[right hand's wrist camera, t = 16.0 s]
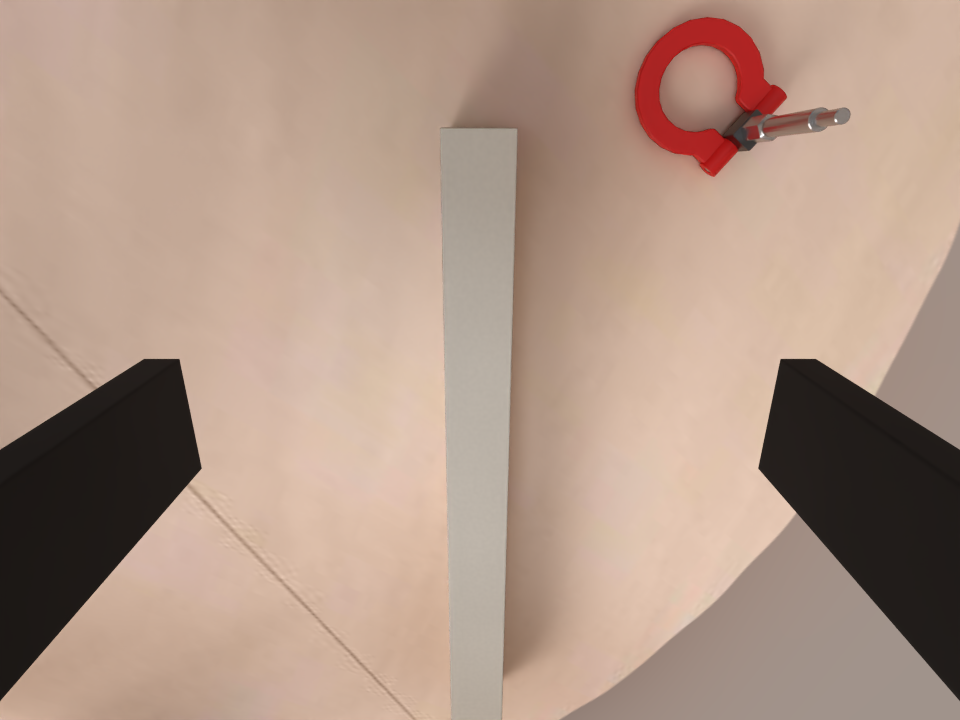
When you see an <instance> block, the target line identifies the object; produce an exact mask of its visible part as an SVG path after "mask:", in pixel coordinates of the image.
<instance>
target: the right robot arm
mask: <svg viewBox="0 0 960 720" xmlns="http://www.w3.org/2000/svg"><path fill="white" fill-rule="evenodd" d="M201 469H202V468H201V463H200V458H199V453H198V448H197V443H196V438H195V433H194V429H193V424H192V419H191V414H190V409H189V404H188V399H187V394H186V389H185V384H184V380H183V375H182V370H181V365H180V360H179V359H143V360H142V361H140V362H139V363H137V364H136V365H134V366H132V367H131V368H129V369H128V370H126V371H124V372H123V373H121V374H120V375H118V376H117V377H115V378H113V379H112V380H110V381H109V382H107V383H105V384H104V385H102V386H101V387H99V388H98V389H96V390H94V391H93V392H91V393H90V394H88V395H86V396H85V397H83V398H82V399H80V400H78V401H77V402H75V403H74V404H72V405H71V406H69V407H67V408H66V409H64V410H63V411H61V412H59V413H58V414H56V415H55V416H53V417H52V418H50V419H48V420H47V421H45V422H44V423H42V424H40V425H39V426H37V427H36V428H34V429H32V430H31V431H29V432H28V433H26V434H25V435H23V436H21V437H20V438H18V439H17V440H15V441H13V442H12V443H10V444H9V445H7V446H6V447H4V448H2V449H1V450H0V700H1V699H2V698H3V697H4V696H5V695H6V694H7V692H8V691H9V690H10V689H11V688H12V687H13V685H14V684H15V683H16V682H17V681H18V680H19V679H20V677H21V676H22V675H23V674H24V673H25V672H26V670H27V669H28V668H29V667H30V666H31V665H32V664H33V662H34V661H35V660H36V659H37V658H38V657H39V655H40V654H41V653H42V652H43V651H44V650H45V649H46V647H47V646H48V645H49V644H50V643H51V642H52V640H53V639H54V638H55V637H56V636H57V635H58V634H59V632H60V631H61V630H62V629H63V628H64V627H65V625H66V624H67V623H68V622H69V621H70V620H71V619H72V617H73V616H74V615H75V614H76V613H77V612H78V610H79V609H80V608H81V607H82V606H83V605H84V604H85V602H86V601H87V600H88V599H89V598H90V597H91V595H92V594H93V593H94V592H95V591H96V590H97V589H98V587H99V586H100V585H101V584H102V583H103V582H104V580H105V579H106V578H107V577H108V576H109V575H110V574H111V572H112V571H113V570H114V569H115V568H116V567H117V565H118V564H119V563H120V562H121V561H122V560H123V559H124V557H125V556H126V555H127V554H128V553H129V552H130V550H131V549H132V548H133V547H134V546H135V545H136V544H137V542H138V541H139V540H140V539H141V538H142V537H143V535H144V534H145V533H146V532H147V531H148V530H149V529H150V527H151V526H152V525H153V524H154V523H155V522H156V520H157V519H158V518H159V517H160V516H161V515H162V514H163V512H164V511H165V510H166V509H167V508H168V507H169V506H170V504H171V503H172V502H173V501H174V500H175V499H176V497H177V496H178V495H179V494H180V493H181V492H182V491H183V489H184V488H185V487H186V486H187V485H188V484H189V482H190V481H191V480H192V479H193V478H194V477H195V476H196V474H197V473H198V472H199V471H200V470H201ZM758 469H759V470H760V471H761V472H762V473H763V474H764V476H765V477H766V478H767V479H768V480H769V481H770V482H771V484H772V485H773V486H774V487H775V488H776V489H777V491H778V492H779V493H780V494H781V495H782V496H783V497H784V499H785V500H786V501H787V502H788V503H789V504H790V506H791V507H792V508H793V509H794V510H795V511H796V512H797V514H798V515H799V516H800V517H801V518H802V519H803V521H804V522H805V523H806V524H807V525H808V526H809V527H810V529H811V530H812V531H813V532H814V533H815V534H816V535H817V537H818V538H819V539H820V540H821V541H822V542H823V544H824V545H825V546H826V547H827V548H828V549H829V550H830V552H831V553H832V554H833V555H834V556H835V557H836V559H837V560H838V561H839V562H840V563H841V564H842V565H843V567H844V568H845V569H846V570H847V571H848V572H849V573H850V575H851V576H852V577H853V578H854V579H855V580H856V582H857V583H858V584H859V585H860V586H861V587H862V589H863V590H864V591H865V592H866V593H867V594H868V595H869V597H870V598H871V599H872V600H873V601H874V602H875V604H876V605H877V606H878V607H879V608H880V609H881V610H882V612H883V613H884V614H885V615H886V616H887V617H888V619H889V620H890V621H891V622H892V623H893V624H894V625H895V627H896V628H897V629H898V630H899V631H900V632H901V634H902V635H903V636H904V637H905V638H906V639H907V640H908V642H909V643H910V644H911V645H912V646H913V647H914V649H915V650H916V651H917V652H918V653H919V654H920V655H921V656H922V658H923V659H924V660H925V661H926V662H927V664H928V665H929V666H930V667H931V668H932V669H933V670H934V672H935V673H936V674H937V675H938V676H939V677H940V679H941V680H942V681H943V682H944V683H945V684H946V685H947V687H948V688H949V689H950V690H951V691H952V692H953V694H954V695H955V696H956V697H957V698H958V699H959V700H960V450H959V449H958V448H956V447H954V446H953V445H951V444H950V443H948V442H947V441H945V440H943V439H942V438H940V437H939V436H937V435H935V434H934V433H932V432H931V431H929V430H927V429H926V428H924V427H923V426H921V425H920V424H918V423H916V422H915V421H913V420H912V419H910V418H908V417H907V416H905V415H904V414H902V413H901V412H899V411H897V410H896V409H894V408H893V407H891V406H889V405H888V404H886V403H885V402H883V401H882V400H880V399H878V398H877V397H875V396H874V395H872V394H870V393H869V392H867V391H866V390H864V389H862V388H861V387H859V386H858V385H856V384H855V383H853V382H851V381H850V380H848V379H847V378H845V377H843V376H842V375H840V374H839V373H837V372H836V371H834V370H832V369H831V368H829V367H828V366H826V365H824V364H823V363H821V362H820V361H818V360H817V359H781V360H780V365H779V370H778V375H777V380H776V384H775V389H774V394H773V399H772V404H771V409H770V414H769V419H768V424H767V429H766V433H765V438H764V443H763V448H762V453H761V458H760V463H759V468H758Z"/></svg>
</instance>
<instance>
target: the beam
mask: <svg viewBox="0 0 960 720" xmlns="http://www.w3.org/2000/svg"><path fill="white" fill-rule="evenodd" d="M517 140H518V129H517V128H440V157H441V210H442V263H443V316H444V368H445V421H446V474H447V527H448V580H449V632H450V685H451V720H502V697H503V659H504V622H505V585H506V548H507V511H508V474H509V437H510V400H511V362H512V325H513V288H514V251H515V214H516V177H517Z"/></svg>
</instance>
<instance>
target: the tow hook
mask: <svg viewBox="0 0 960 720" xmlns="http://www.w3.org/2000/svg"><path fill="white" fill-rule="evenodd" d="M698 45H705V46H712V47H715V48H717V49H719V50H721V51H722V52H723V53H725V54H726V55H727V56H728V57H729V58H730V60H731V62H732V63H733V65H734V67H735V70H736V74H737V93H736V97H735V99H736V102H737V103H738V104H739V105H740V106H741V107H742V108H743V109H744V110H745V111H746V112H744V113H743V114H742V115H741V116H740V117H739V118H738V119H737V121H736V122H735V123H734V124H733V125H732V126H731V127H730V128H729V129H728V131H727V132H726V133H725V134H724V135H723V136H721V135H720V134H719V133H718V132H717V131H716V130H715V129H707V130H705V131H700V132H690V131H684V130H682V129H680V128H678V127H676V126H675V125H673V124H672V123H671V122H670V121H669V120H668V119H667V117H666V116H665V114H664V113H663V111H662V107H661V104H660V99H659V88H660V83H661V78H662V76H663V73H664V71H665V69H666V67H667V66H668V64H669V63H670V62H671V60H672V59H673V58H674V57H675V56H676V55H677V54H679V53H680V52H681V51H683V50H685V49H687V48H689V47H692V46H698ZM786 98H787V96H786V94H785V92H784V91H783V90H782V89H781V88H779V87H778V86H775V85H771V86H770V85H769V84H768V82H767V81H766V80H765V79H764V68H763V64H762V60H761V56H760V52H759V50H758V49H757V47H756V45H755V43H754V42H753V40H752V38H751V37H750V36H749V35H748V34H747V33H746V32H745V31H743V30H742V29H741V28H740V27H739V26H737V25H735V24H733V23H731V22H729V21H727V20H724V19H717V18H710V17H706V18H700V19H694V20H689V21H687V22H685V23H683V24H681V25H679V26H677V27H674V28H673V29H672V30H670V31H669V32H668V33H667V34H666V35H664V36H663V37H662V38H661V39H659V40H658V41H657V42H656V43H655V45H654V46H653V47H652V49H651V50H650V51H649V53H648V54H647V55H646V57H645V59H644V61H643V64H642V66H641V68H640V70H639V73H638V77H637V82H636V88H635V103H636V111H637V114H638V117H639V120H640V123H641V125H642V127H643V128H644V130H645V131H646V133H647V135H648V136H649V137H650V138H651V139H652V140H653V141H654V142H655V143H657V144H658V145H659V146H660V147H661V148H664V149H666V150H668V151H670V152H673V153H675V154H683V155H693V156H694V157H695V158H696V159H697V160H698V161H699V162H700V167H701V168H702V169H703V170H704V171H705V172H706V173H707V174H709V175H710V176H713V177H715V176H716V174H717V173H718V172H719V171H720V170H721V169H722V168H723V167H724V166H725V165H726V164H727V162H728V161H729V160H730V159H731V158H732V157H733V156H734V155H735V154H736V153H737V152H738V151H749V150H751V149H752V148H753V147H754V146H755V144H756V143H758V142H767V141H773V140H774V139H775V138H776V137H779V136H787V135H796V134H804V133H812V132H820V131H822V130H824V129H826V128H827V127H828V126H834V125H842V124H845V123H846V122H847V121H848V120H849V118H850V111H849V109H847V108H839V109H833V110H827V109H826V108H816V109H811V110H805V111H800V112H795V113H790V114H785V115H780V116H777V115H772V114H773V112H774V111H775V110H776V109H777V108H778V107H779V106H780V105H781V104H782V103H783V102H784V101H785V99H786Z"/></svg>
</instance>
